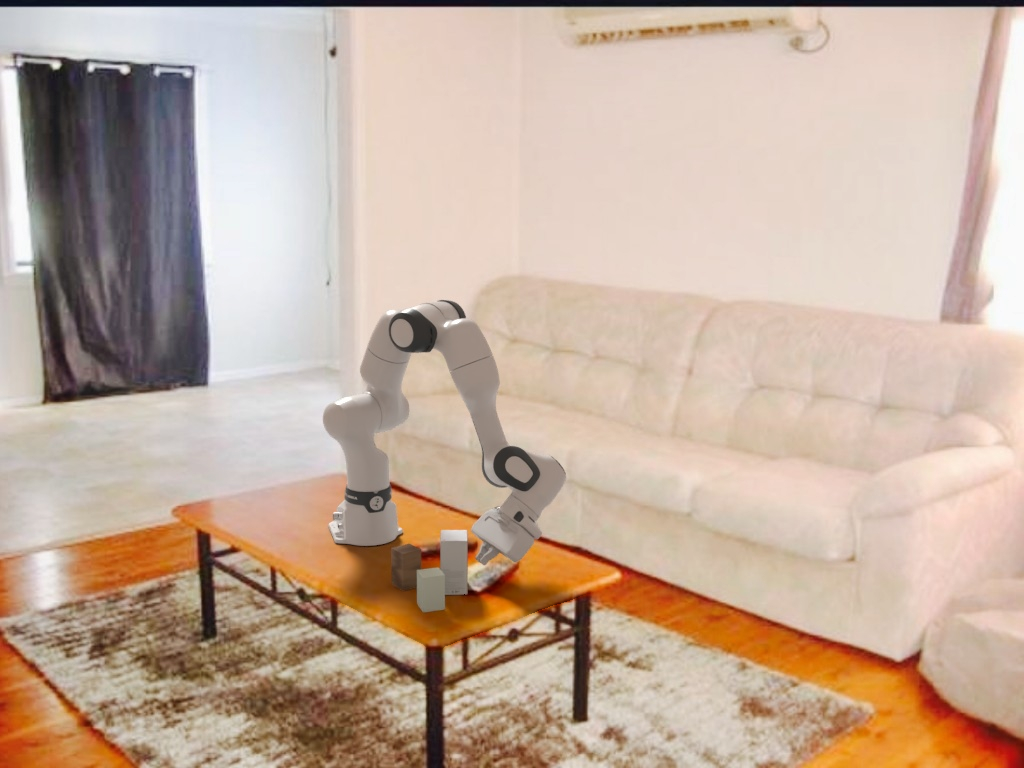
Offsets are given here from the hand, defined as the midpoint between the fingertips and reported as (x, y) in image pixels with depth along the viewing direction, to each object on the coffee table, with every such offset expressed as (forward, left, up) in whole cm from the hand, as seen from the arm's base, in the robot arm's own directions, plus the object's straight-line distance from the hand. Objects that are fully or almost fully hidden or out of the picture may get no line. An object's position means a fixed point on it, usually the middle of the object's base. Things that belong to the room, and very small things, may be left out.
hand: (479, 562), depth 242 cm
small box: (0, -7, -5) cm, 9 cm away
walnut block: (-7, -16, -5) cm, 18 cm away
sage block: (+7, -16, -5) cm, 18 cm away
